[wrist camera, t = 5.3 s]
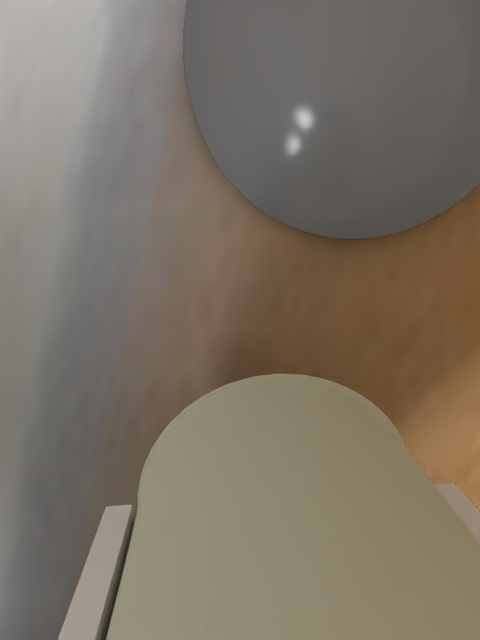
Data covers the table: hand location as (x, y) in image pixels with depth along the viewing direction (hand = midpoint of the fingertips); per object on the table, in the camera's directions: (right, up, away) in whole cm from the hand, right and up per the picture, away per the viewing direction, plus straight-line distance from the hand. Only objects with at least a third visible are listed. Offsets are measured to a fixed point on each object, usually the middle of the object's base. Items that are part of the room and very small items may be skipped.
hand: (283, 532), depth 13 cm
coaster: (+3, +15, +2) cm, 16 cm away
